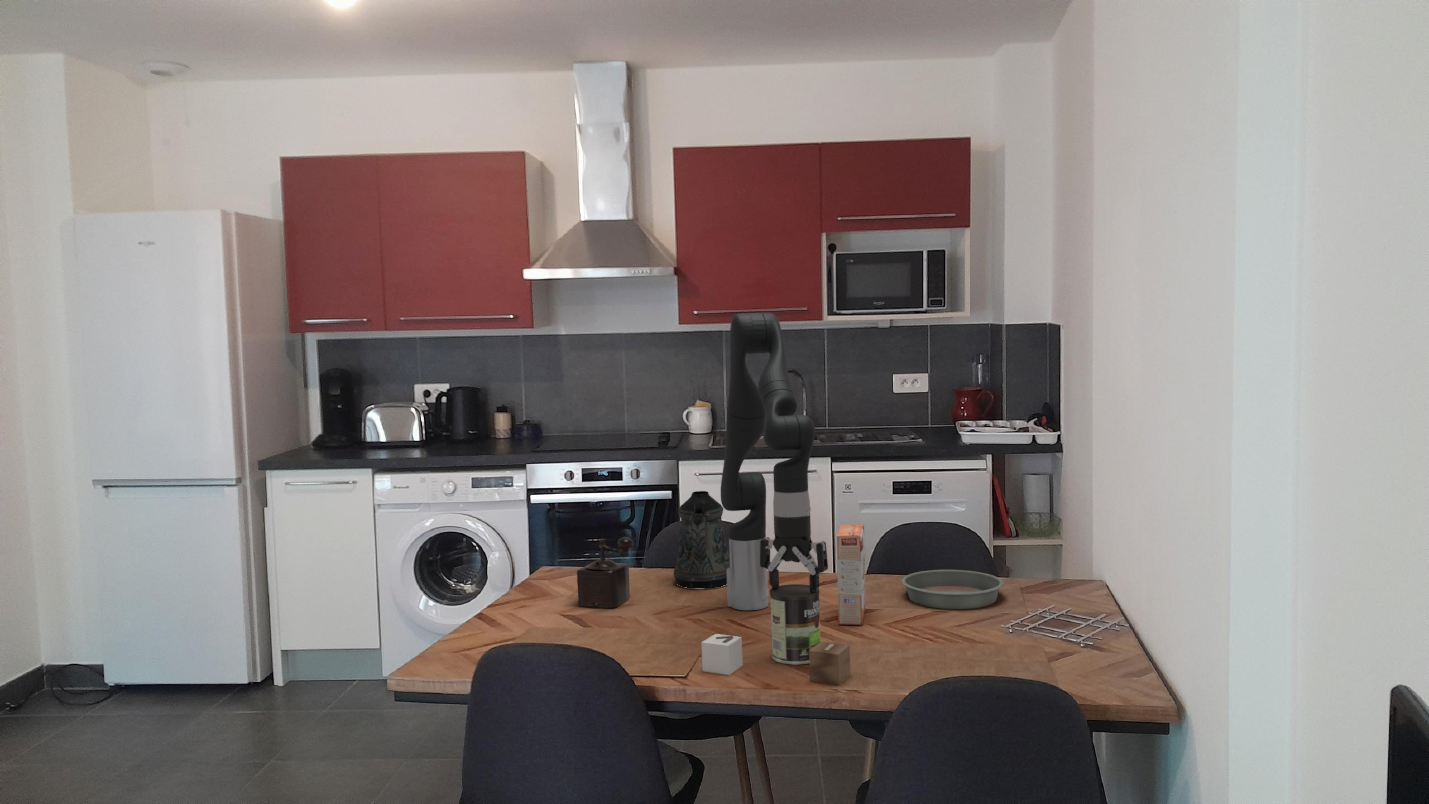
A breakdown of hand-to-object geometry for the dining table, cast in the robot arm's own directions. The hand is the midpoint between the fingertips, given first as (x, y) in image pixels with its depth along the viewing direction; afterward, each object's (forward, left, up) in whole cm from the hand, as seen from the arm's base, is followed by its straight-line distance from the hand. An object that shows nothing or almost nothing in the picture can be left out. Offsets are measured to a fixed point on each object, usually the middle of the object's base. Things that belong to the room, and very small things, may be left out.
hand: (794, 589), depth 201 cm
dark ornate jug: (-47, +47, -14) cm, 68 cm away
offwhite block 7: (-11, -12, -14) cm, 22 cm away
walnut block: (+11, -9, -14) cm, 20 cm away
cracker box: (+1, +31, -14) cm, 34 cm away
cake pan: (+18, +56, -15) cm, 61 cm away
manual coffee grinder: (-60, +21, -14) cm, 65 cm away
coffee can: (0, 0, -14) cm, 14 cm away
